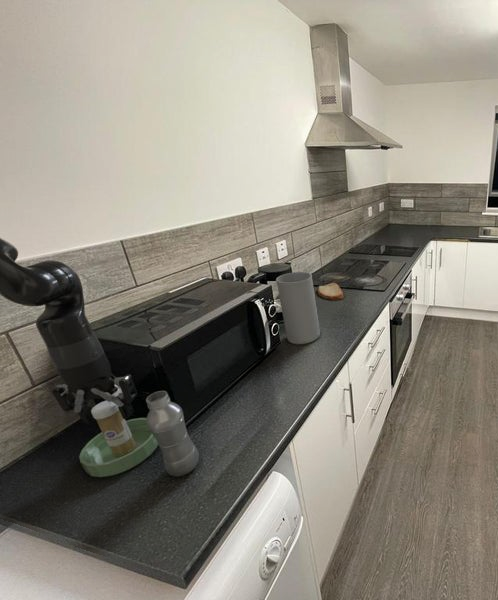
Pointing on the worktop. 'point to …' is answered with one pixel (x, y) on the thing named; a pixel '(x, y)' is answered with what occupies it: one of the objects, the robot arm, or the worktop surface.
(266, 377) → the worktop surface
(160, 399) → the plastic bottle
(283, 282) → the cylinder vase
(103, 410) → the sprinkles bottle
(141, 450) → the bowl
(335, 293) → the slice of bread
